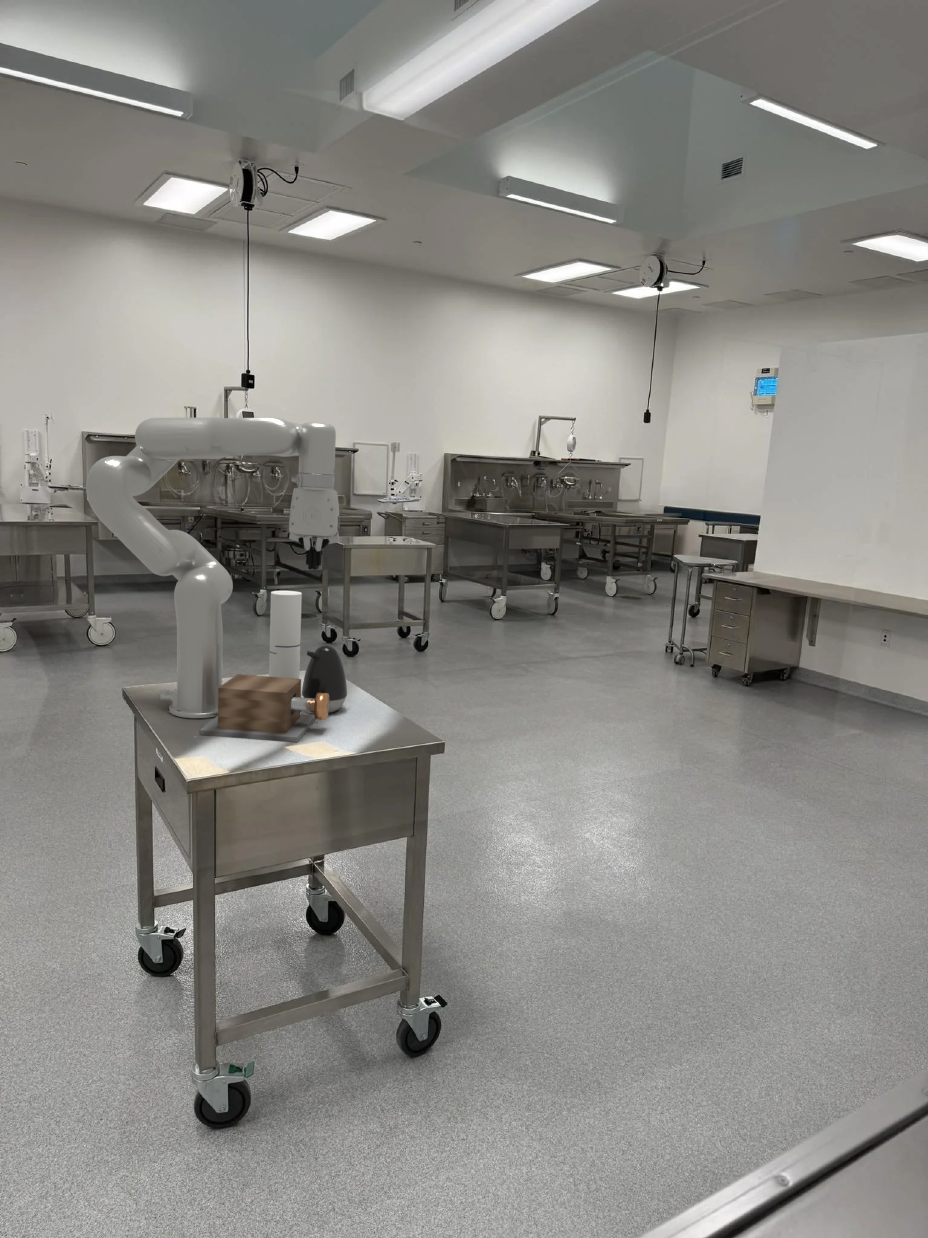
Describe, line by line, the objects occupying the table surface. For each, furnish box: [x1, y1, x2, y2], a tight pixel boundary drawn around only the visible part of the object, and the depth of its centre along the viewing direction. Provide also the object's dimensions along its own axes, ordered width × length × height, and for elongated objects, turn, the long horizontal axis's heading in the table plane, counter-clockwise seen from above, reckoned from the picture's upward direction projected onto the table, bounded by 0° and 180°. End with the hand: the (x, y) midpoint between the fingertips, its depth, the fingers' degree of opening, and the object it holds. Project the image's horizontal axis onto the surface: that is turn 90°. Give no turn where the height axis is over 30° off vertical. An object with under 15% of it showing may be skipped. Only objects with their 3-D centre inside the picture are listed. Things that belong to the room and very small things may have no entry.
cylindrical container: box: [268, 590, 303, 679], centre depth 199 cm, size 7×7×25 cm
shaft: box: [291, 693, 330, 721], centre depth 174 cm, size 20×6×6 cm, turn 87°
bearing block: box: [199, 673, 317, 743], centre depth 174 cm, size 20×16×10 cm
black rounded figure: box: [301, 644, 348, 714], centre depth 189 cm, size 10×10×15 cm
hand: (313, 568), depth 179 cm, fingers closed
